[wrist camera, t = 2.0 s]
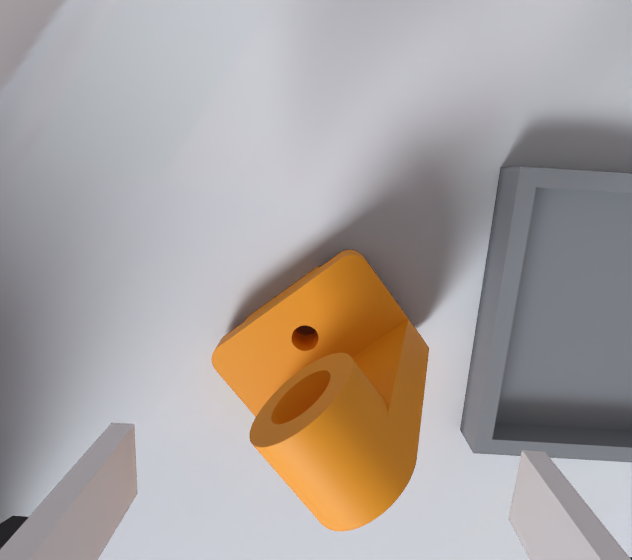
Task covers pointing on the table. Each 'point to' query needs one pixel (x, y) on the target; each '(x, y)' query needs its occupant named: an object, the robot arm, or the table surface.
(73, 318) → the table surface
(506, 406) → the tray
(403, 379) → the bracket
